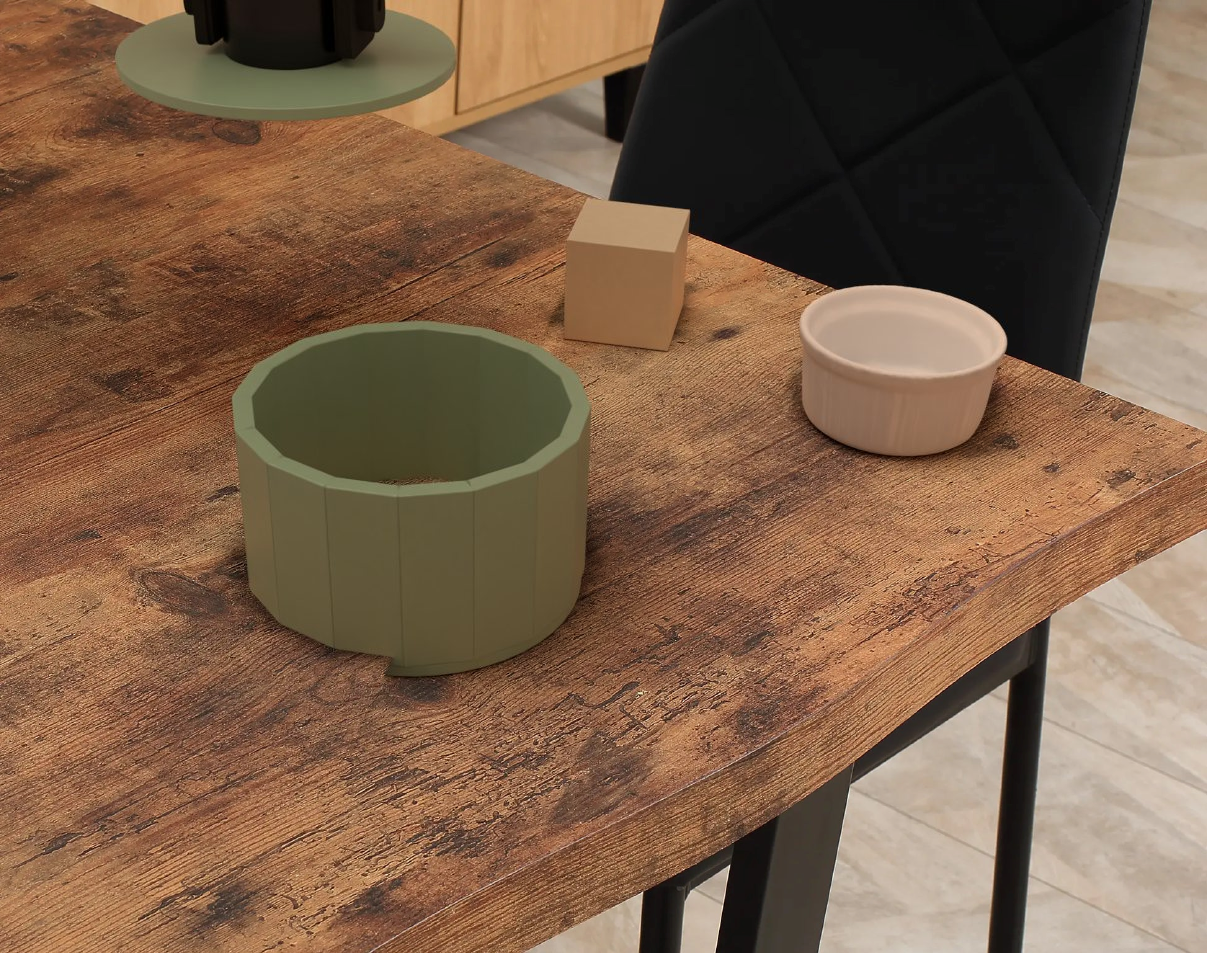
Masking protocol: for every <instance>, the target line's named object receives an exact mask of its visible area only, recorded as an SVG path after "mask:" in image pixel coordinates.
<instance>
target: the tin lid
mask: <svg viewBox="0 0 1207 953" xmlns="http://www.w3.org/2000/svg"><path fill="white" fill-rule="evenodd" d="M219 3H220V14H221V25H222V35H223V38H221V39H220V40H219V41H218V42H215V43H214V44H213V45H211V46H210V45H200V44H198V43H197V41H196V37H195V27H194V17H193V15H188V14H187V13H186V12H185V11H181V12H179V13H175V14H171V15H169V16H165V17H163V18H159V19H157V20H154V21H151V22H149V23H147V24H145V25H143V26H141V27H138V28H137V29H136V30H134V31H133V32H131V33H130V34H128V35H127V36H126V37H125V38H124V39H123V40H122V41H121V42H120V43H119V45H118V47H117V48H116V51H115V55H114V60H115V67H116V74H117V76H118V77H119V79H120V81H121V82H122V84H124V85H125V87H127V88H128V89H129V90H130V91H132V92H133V93H135V94H137V95H138V96H139V97H141V98H144V99H146V100H148V101H151V102H153V103H156V104H158V105H161V106H164V107H167V108H169V109H173V110H177V111H182V112H186V113H190V114H196V115H200V116H206V117H214V118H219V119H220V118H221V119H227V120H242V121H251V122H252V121H257V122H303V121H304V122H305V121H320V120H329V119H330V120H331V119H338V118H347V117H354V116H360V115H366V114H371V113H375V112H379V111H384V110H388V109H392V108H395V107H399V106H403V105H406V104H409V103H411V102H413V101H416V100H419V99H421V98H423V97H425V96H428V95H429V94H431V93H433V92H435V91H437V90H438V89H439V88H441V87H443V86H444V85H445V84H446V83H447V82H448V81H449V80H450V79H451V78H452V76H453V74H454V73H455V71H456V67H457V50H456V46H455V44H454V41H452V39H451V37H450V36H449V35H447V34H446V33H445V32H444V31H443V30H441V29H440V28H438V27H436V26H435V25H434V24H431V23H430V22H427V21H425V20H423V19H422V18H421V19H420V18H417V17H415V16H413V15H409V14H406V13H403V12H399V11H396V10H391V9H388V8H385V22H384V26H383V28H382V29H381V30H380V31H379V32H378V33H375V36H374V39H373V40H372V41H371V42H370V44H369V45H368V46H367V47H366V48H365V49H364V50H363V51H362V52H361V53H360V54H359V55H358V56H357V57H356V58H355V59H345V58H341V57H340V54H336V51H335V37H334V20H333V2H332V0H219Z"/></svg>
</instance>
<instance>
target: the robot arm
mask: <svg viewBox="0 0 1207 953" xmlns="http://www.w3.org/2000/svg"><path fill="white" fill-rule="evenodd" d="M182 2H183V9H184V12H186V13H187V14H188V15H193V17H194V27H195V37H196V41H197V43H198V44H200V45H210V46H211V45H213V44H214V43H215V42H218V41H219V40H220V39H221V38H223V35H222V25H221V14H220V3H219V0H182ZM332 2H333V20H334V37H335V51H336V54H340V57H341V58H345V59H355V58H356V57H357V56H358V55H359V54H360V53H361V52H362V51H363V50H364V49H365V48H366V47H367V46H368V45H369V44H370V42H371V41H372V40H373V39H374V36H375V33H378V32H379V31H380V30H381V29H382V28H383V26H384V22H385V9H386V0H332Z"/></svg>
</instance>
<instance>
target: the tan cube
mask: <svg viewBox="0 0 1207 953" xmlns="http://www.w3.org/2000/svg"><path fill="white" fill-rule="evenodd" d="M690 218H691V210H690V209H684V208H678V207H676V208H675V207H668V206H658V205H650V204H640V203H631V202H622V201H615V200H605V199H595V198H586V199H585V201H584V204H583V206H582V207H581V210H580V211H579V214H578V216H577V218H576V220H575V222H574V224H573V226H572V228H571V230H570V232H569V235H568V236H567V238H566V246H565V274H564V275H565V276H564V305H563V306H564V307H563V308H564V309H563V334H562V335H563V339H566V340H573V341H574V340H575V341H580V342H581V341H583V342H591V343H598V344H605V345H606V344H607V345H613V346H614V345H615V346H623V347H630V348H639V349H648V350H656V351H665V352H668V351H669V349H670V346H671V342H672V340H673V338H674V333H675V330H676V328H677V325H678V323H679V322H678V321H679V320H680V319H679V318H680V315H681V313H682V309H683V306H684V297H685V284H686V270H687V257H688V243H689V230H690V220H691V219H690Z"/></svg>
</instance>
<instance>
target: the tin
mask: <svg viewBox="0 0 1207 953" xmlns="http://www.w3.org/2000/svg"><path fill="white" fill-rule="evenodd" d="M231 407H232V418H233V429H234V440H235V450H236V461H237V471H238V482H239V492H240V503H241V513H242V522H243V523H242V524H243V534H244V545H245V556H246V565H247V577H248V587H249V590H250V591H251V593H252V594H253V595H254V596H255V597H256V598H257V599H258V600H259V602H260V603H261V604H262V605H263V606H264V607H265V609H266V610H267V611H268V612H269V613H270V614H271V615H272V617H273V618H274V619H275V620H276V621H277V622H278V623H279V624H280V625H281V626H284V627H286V628H289V629H290V630H293V631H295V632H297V633H299V634H301V635H304V636H306V637H308V638H309V639H312V640H314V641H316V642H319V643H321V644H324V645H325V646H327V647H330V648H332V649H335V650H341V651H349V652H356V653H362V654H367V655H375V656H382V657H388V658H391V660H390V661H389V663H388V666H387V667H386V670H385V672H384V676H389V677H413V678H415V677H431V676H433V677H434V676H444V675H451V674H458V673H464V672H468V671H469V672H470V671H473V670H477V669H481V668H485V667H488V666H489V667H490V666H491V665H494V664H497V663H501V662H503V661H506V660H508V659H511V658H513V657H516V656H518V655H521V654H522V653H524V652H526V651H528V650H529V649H531V648H533V647H535V646H536V645H538V644H540V643H541V642H542V641H543V640H545V639H547V638H548V637H549V636H550V635H552V634H553V633H554V632H555V631H556V630H557V629H558V628H559V627H560V626H561V625H562V624H563V623H564V622H565V621H566V619H567V618H568V616H569V615H570V614H571V612H572V611H573V609H574V607H575V605H576V603H577V601H578V598H579V595H580V591H581V587H582V586H581V585H582V577H583V575H584V571H585V568H586V544H587V543H586V542H587V525H588V524H587V521H588V498H589V478H590V477H589V476H590V473H589V472H590V454H591V451H590V450H591V433H592V432H591V431H592V429H591V428H592V411H593V410H592V409H593V408H592V404H591V402H590V400H589V397H588V395H587V393H586V390H585V388H584V385H583V383H582V381H581V379H580V376H579V373H577V371H575V370H573V369H572V368H571V367H569V366H568V365H567V364H566V363H564V362H563V361H561V360H560V359H558V358H557V357H556V356H554V355H553V354H552V353H550V352H549V351H548V350H547V349H545V348H544V347H542V346H540V345H537V344H534V343H531V342H528V341H527V340H523V339H519V338H517V337H514V336H511V335H508V334H506V333H502V332H499V331H497V330H494V329H490V328H487V327H480V326H471V325H465V324H455V323H447V322H440V321H439V322H438V321H433V320H432V321H431V320H411V321H396V322H395V321H394V322H393V321H392V322H376V323H362V324H356V325H351V326H347V327H343V328H339V329H336V330H333V331H332V330H331V331H328V332H323V333H320V334H316V335H311V336H309V337H303V338H302V339H299V340H297V341H295V342H294V343H292V344H290V345H288V346H286V347H284V348H283V349H281V350H279V351H277V352H275V353H274V354H272V355H270V356H268V357H265V358H264V359H262V360H261V361H259V362H257V363H256V364H254V366H253V367H252V369H250V371H249V373H248V374H247V375H246V377H245V378H244V379H243V381H242V382H241V383H240V385H239V386H238V387H237V389H236V390H235V391H234V393H233V394H232V396H231ZM418 478H432V479H439V480H445V481H441V482H429V483H428V482H427V483H413V484H402V485H396V484H391V483H390V484H388V483H381V482H380V481H391V480H405V479H406V480H407V479H418ZM446 480H447V481H446Z"/></svg>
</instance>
